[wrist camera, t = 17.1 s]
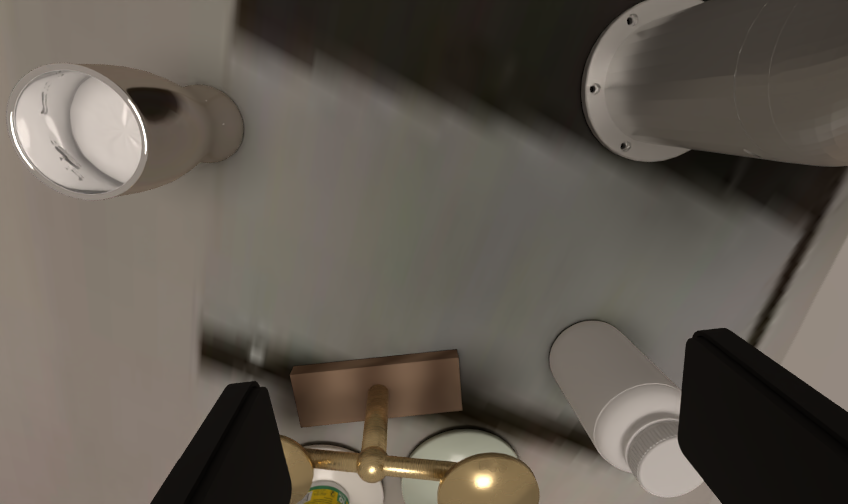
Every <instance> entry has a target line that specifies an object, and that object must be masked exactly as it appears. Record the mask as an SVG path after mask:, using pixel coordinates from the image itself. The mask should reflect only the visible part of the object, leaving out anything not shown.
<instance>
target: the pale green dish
mask: <svg viewBox="0 0 848 504" xmlns="http://www.w3.org/2000/svg"><path fill="white" fill-rule="evenodd" d="M489 452H494V453H503V454H507V455H511V456H513V457H516V458H518V457H517V454H516V453H515V451H514V450H513V449H512V448H511V446H510V445H509V444H508V443H506V442H505V441H504V440H503V439H501V438H499V437H498V436H496V435H493V434H491V433H488V432H485V431H481V430H475V429H457V430H451V431H447V432H443V433H441V434H438V435H435V436H433V437H431V438H430V439H428V440H426V441H425V442H423V443H422V444H421V445H419V446H418V447H417V448H416V449H415V450H414V451H413V453H412V454H411V455H410V456H409V458H419V459H429V460H440V461H451V462H459V461H461V460H463V459H465V458H467V457H469V456H472V455H476V454H480V453H489ZM439 483H440V481H431V480H421V479H411V478H402V495H403V499H404V501H405V504H438V502H437V491H438V486H439Z"/></svg>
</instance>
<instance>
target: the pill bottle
mask: <svg viewBox="0 0 848 504" xmlns="http://www.w3.org/2000/svg"><path fill="white" fill-rule="evenodd" d="M549 363H550V368H551V372H552V374H553V376H554V378H555V380H556V382H557V384H558V385H559V387H560V389H561V390H562V392H563V394H564V395H565V397H566V399H567V400H568V402H569V404H570V405H571V407H572V409H573V410H574V412H575V414H576V415H577V417H578V419H579V420H580V422H581V424H582V425H583V427H584V429H585V430H586V432H587V434H588V436H589V437H590V439H591V441H592V442H593V444H594V446H595V447H596V449H597V450H598V452H599V453H600V455H601V456H602V457H603V458H604V459H605V460H607V461H608V462H609V463H610V464H612V465H613V466H615V467H616V468H618V469H620V470H623V471H626V472H630V473H633V475H634V476H635V478H636V479H637V481H638V482H639V484H640V485H641V486H642V488H644V490H646V491H647V492H649V493H651V494H653V495H655V496H659V497H676V496H680V495H683V494H686V493H688V492H690V491H692V490H693V489H695V488H696V487H698V486H699V485H700V484H701V483H702V482H703V481H704V480H703V479H702V478H701V476H700V475H699V474H698V473H697V471H696V470H695V469H694V468H693V466H692V465H691V464H690V462H689V461H688V460H687V459H686V457H685V456H684V455H683V453H682V451H681V449H680V447H679V444H678V436H677V435H678V425H679V414H680V403H681V392H682V391H681V390H680V389H679V388H678V387H677V386H676V385H675V384H674V383H673V382H672V381H671V380H670V379H669V378H668V377H667V376H666V375H665V374H664V373H663V372H662V371H660V370H659V369H658V368H657V367H656V366H655V365H654V364H653V363H652V362H651V361H650V360H649V359H648V358H647V357H646V356H645V355H644V354H643V353H642V352H641V351H640V350H639V349H638V348H637V347H636V346H635V345H634V344H633V343H632V342H631V341H630V340H629V339H628V338H627V337H626V336H625V335H624V334H622V333H621V332H620V331H619V330H618V329H616V328H615V327H613V326H612V325H610V324H608V323H605V322H601V321H584V322H580V323H577V324H575V325H572V326H571V327H569V328H567V329H566V330H565V331H563V332H562V333H561V334H560V335H559V336H558V338H557V339H556V340H555V342H554V344H553V346H552V348H551V352H550V357H549Z"/></svg>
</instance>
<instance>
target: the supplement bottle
mask: <svg viewBox="0 0 848 504" xmlns="http://www.w3.org/2000/svg"><path fill="white" fill-rule="evenodd" d="M297 504H349V497H348V494H347V493H346V491H345V490H344V489H343V488H342V487H341V486H339V485H338V484H336V483H333V482H329V481H319V482H315V483H312V485H311V487H310V490H309V491H308V493H307V494H306V496H305V497H304V498H303V499H302V500H301V501H299V502H298V503H297Z"/></svg>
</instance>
